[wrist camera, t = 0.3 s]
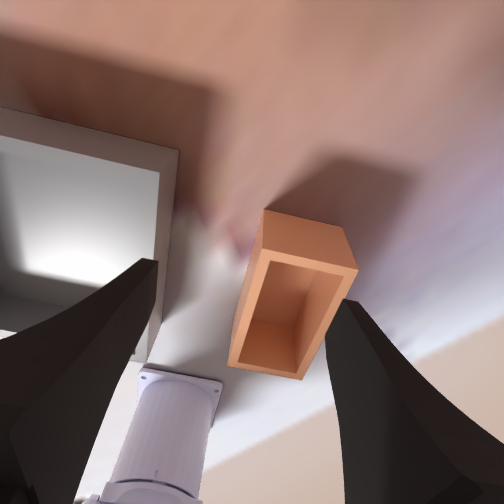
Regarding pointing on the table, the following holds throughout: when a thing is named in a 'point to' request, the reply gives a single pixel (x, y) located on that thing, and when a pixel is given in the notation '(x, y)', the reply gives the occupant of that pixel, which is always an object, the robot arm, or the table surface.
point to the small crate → (289, 294)
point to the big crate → (78, 217)
